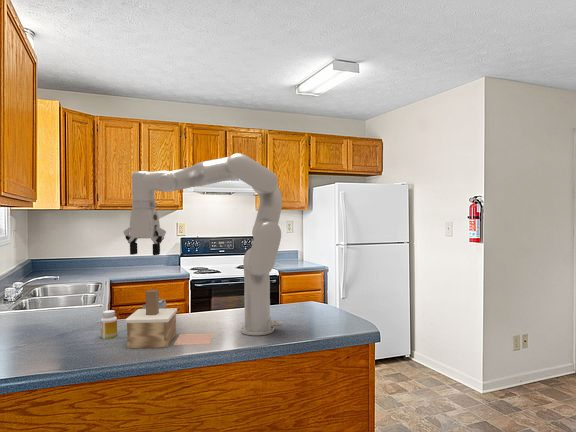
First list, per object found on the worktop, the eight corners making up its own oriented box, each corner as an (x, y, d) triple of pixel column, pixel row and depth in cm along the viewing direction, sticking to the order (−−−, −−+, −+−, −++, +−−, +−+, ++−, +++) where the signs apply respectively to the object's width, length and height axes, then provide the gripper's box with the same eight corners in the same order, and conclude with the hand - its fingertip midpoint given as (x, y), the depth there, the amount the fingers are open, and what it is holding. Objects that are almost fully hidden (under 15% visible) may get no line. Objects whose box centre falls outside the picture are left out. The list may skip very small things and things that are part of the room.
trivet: (213, 335, 158) (213, 333, 158) (209, 345, 146) (209, 344, 146) (180, 335, 158) (180, 334, 158) (173, 346, 146) (173, 344, 146)
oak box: (176, 335, 157) (175, 311, 157) (167, 348, 143) (166, 321, 143) (139, 336, 157) (139, 312, 157) (127, 349, 143) (126, 322, 143)
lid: (177, 311, 158) (177, 286, 158) (168, 322, 143) (167, 295, 143) (138, 311, 157) (138, 287, 157) (124, 323, 142) (124, 295, 142)
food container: (157, 332, 162) (156, 305, 162) (142, 331, 164) (141, 305, 163) (172, 323, 174) (172, 298, 174) (158, 322, 176) (158, 298, 175)
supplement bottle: (120, 336, 157) (120, 310, 157) (110, 341, 152) (109, 313, 152) (108, 335, 159) (108, 309, 158) (97, 339, 154) (97, 312, 153)
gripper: (170, 205, 153) (171, 254, 154) (131, 206, 159) (132, 252, 160) (157, 206, 146) (158, 256, 147) (116, 206, 152) (117, 255, 153)
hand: (145, 254), depth 153 cm, fingers open, 9 cm apart
